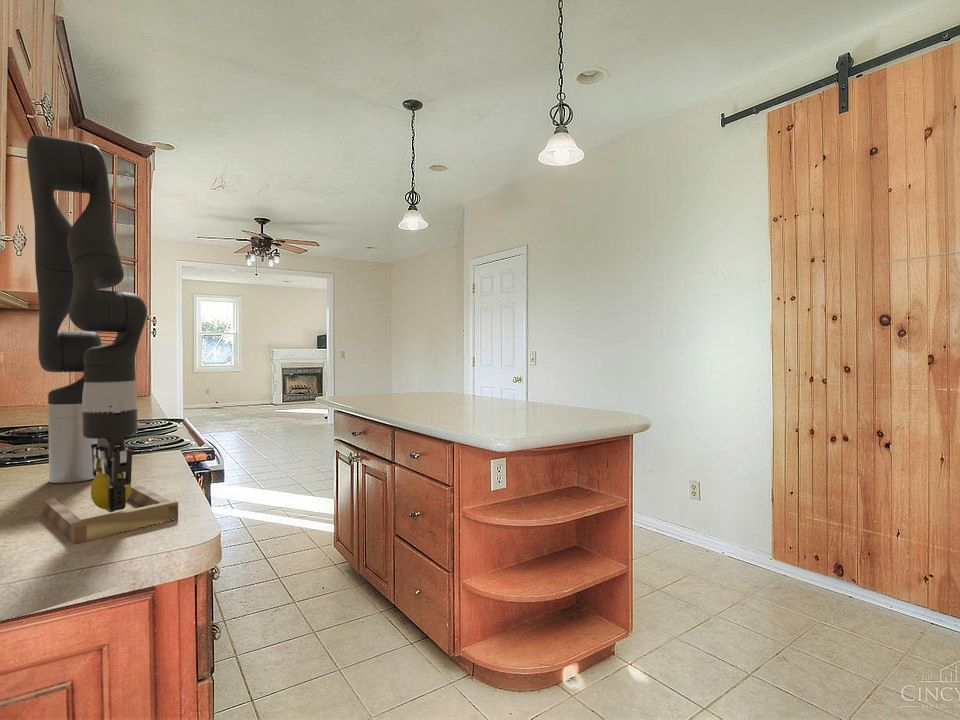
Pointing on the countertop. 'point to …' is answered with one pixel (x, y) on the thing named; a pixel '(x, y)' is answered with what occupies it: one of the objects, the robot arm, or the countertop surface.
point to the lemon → (104, 491)
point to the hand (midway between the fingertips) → (111, 505)
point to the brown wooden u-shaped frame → (112, 516)
